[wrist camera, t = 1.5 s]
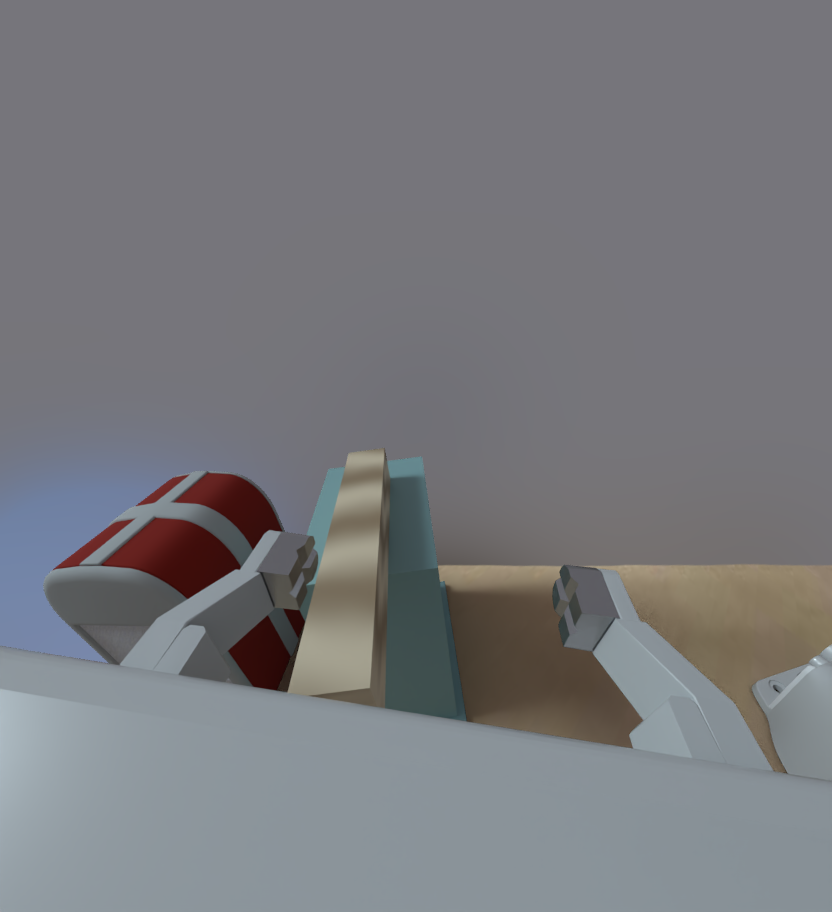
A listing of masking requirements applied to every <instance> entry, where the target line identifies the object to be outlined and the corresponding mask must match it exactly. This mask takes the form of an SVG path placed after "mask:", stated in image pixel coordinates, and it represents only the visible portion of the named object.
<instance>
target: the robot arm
mask: <svg viewBox="0 0 832 912" xmlns="http://www.w3.org/2000/svg"><path fill="white" fill-rule="evenodd" d="M314 545H315V540H314V536H309V535H302V534H295V533H288V532H280V531H273V530H269V531H267V532H266V533H265V534H264V535H263V537H262V538H261V540H260V541H259V543H258V544H257V546H256V547H255V548H254V550H253V551H252V553H251V554H250V556H249V557H248V559H247V560H246V562H245V563H244V565H243V566H242V568H241V569H240V570H234V571H232V572H231V573H229V574H228V575H226V576H224V577H223V578H221V579H219V580H218V581H216V582H215V583H213V584H211V585H210V586H208V587H207V588H205V589H203V590H202V591H200V592H199V593H197V594H195V595H194V596H192V597H191V598H189V599H187V600H186V601H184V602H182V603H181V604H179V605H178V606H176V607H174V608H173V609H171V610H170V611H168V612H166V613H165V614H163V615H162V616H160V617H158V618H157V619H156V620H155V622H154V623H153V624H152V625H151V626H150V628H149V629H148V630H147V631H146V633H145V634H144V635H143V636H142V638H141V639H140V640H139V641H138V643H137V644H136V645H135V646H134V647H133V649H132V650H131V651H130V652H129V654H128V655H127V656H126V657H125V659H124V660H123V661H122V662H121V663H120V665H115V664H109V663H103V662H97V661H90V660H84V659H78V658H72V657H65V656H59V655H52V654H46V653H41V652H34V651H28V650H22V649H17V648H11V647H5V646H0V912H832V645H830V646H829V647H827V648H826V649H825V650H823V651H822V652H821V654H820V655H821V656H820V655H818V656H816V657H814V658H812V659H811V660H810V661H809V663H808V664H805V665H803V666H800V667H797V668H794V669H791V670H788V671H785V672H782V673H779V674H776V675H773V676H771V677H768V678H765V679H762V680H759V681H757V682H756V683H755V684H754V685H753V686H752V691H753V694H754V696H755V698H756V700H757V702H758V703H759V705H760V706H761V708H762V710H763V711H764V713H765V714H766V716H767V719H768V722H769V726H770V731H771V736H772V740H773V743H774V746H775V749H776V751H777V754H778V756H779V758H780V760H781V762H782V764H783V766H784V768H785V769H786V771H787V773H788V774H787V773H781V772H775V771H773V770H772V768H771V766H770V764H769V763H768V761H767V759H766V757H765V756H764V754H763V752H762V750H761V749H760V747H759V745H758V743H757V742H756V740H755V738H754V736H753V735H752V733H751V731H750V729H749V728H748V726H747V724H746V723H745V721H744V719H743V717H742V716H741V714H740V712H739V710H738V709H737V707H736V705H735V703H734V702H732V701H731V700H730V699H729V698H728V697H727V696H726V695H725V694H724V693H723V692H722V691H720V690H719V689H718V688H717V687H716V686H715V685H714V684H713V683H712V682H711V681H709V680H708V679H707V678H706V677H705V676H704V675H703V674H702V673H701V672H700V671H699V670H697V669H696V668H695V667H694V666H693V665H692V664H691V663H690V662H689V661H688V660H687V659H685V658H684V657H683V656H682V655H681V654H680V653H679V652H678V651H677V650H676V649H675V648H673V647H672V646H671V645H670V644H669V643H668V642H667V641H666V640H665V639H664V638H662V637H661V636H660V635H659V634H658V633H657V632H656V631H655V630H654V629H653V628H652V627H650V626H649V625H648V624H647V623H646V622H641V621H640V619H639V617H638V615H637V613H636V610H635V608H634V606H633V604H632V602H631V600H630V597H629V595H628V593H627V591H626V589H625V587H624V584H623V582H622V580H621V578H620V576H619V574H618V573H617V572H616V571H614V570H605V569H597V568H590V567H581V566H570V565H564V566H562V567H561V570H560V576H561V578H560V579H558V580H556V581H555V584H554V587H553V595H552V597H553V605H554V609H555V612H556V613H557V614H558V615H559V616H560V617H561V620H560V622H559V624H558V626H559V630H560V634H561V639H562V643H563V647H568V648H574V649H580V650H586V651H592V652H593V654H594V656H595V657H596V658H597V660H598V661H599V662H600V664H601V665H602V666H603V668H604V669H605V670H606V671H607V673H608V674H609V675H610V677H611V678H612V679H613V681H614V682H615V683H616V685H617V686H618V687H619V689H620V690H621V691H622V693H623V694H624V695H625V697H626V698H627V699H628V700H629V702H630V703H631V704H632V706H633V707H634V708H635V710H636V711H637V712H638V714H639V715H640V716H641V718H642V719H643V721H642V722H641V723H640V724H639V725H638V726H637V727H636V728H634V729H633V730H632V732H631V733H630V734H629V736H630V739H631V743H632V746H633V748H627V747H621V746H615V745H609V744H602V743H596V742H590V741H584V740H578V739H572V738H565V737H559V736H553V735H547V734H541V733H535V732H528V731H522V730H516V729H510V728H504V727H498V726H492V725H485V724H479V723H473V722H467V721H461V720H455V719H448V718H442V717H436V716H430V715H424V714H418V713H411V712H405V711H399V710H393V709H387V708H381V707H375V706H368V705H362V704H356V703H350V702H344V701H338V700H331V699H325V698H319V697H313V696H307V695H300V694H294V693H288V692H282V691H276V690H270V689H263V688H257V687H251V686H245V685H239V684H233V683H226V681H227V679H228V677H229V675H230V673H231V670H230V667H229V665H228V663H227V662H226V660H225V659H224V657H223V656H222V655H223V654H225V653H226V652H227V651H228V650H229V649H230V648H231V647H232V646H233V645H235V644H236V643H237V642H238V641H239V640H240V639H241V638H242V637H244V636H245V635H246V634H247V633H248V632H249V631H250V630H251V629H252V628H254V627H255V626H256V625H257V624H258V623H259V622H260V621H261V620H263V619H264V618H265V617H266V616H267V615H268V614H269V613H270V612H271V611H273V610H274V607H275V608H284V609H293V610H300V608H301V605H302V603H303V601H304V599H305V597H306V594H307V592H308V591H307V587H306V585H307V584H308V583H309V582H311V581H312V580H313V579H314V576H315V574H316V571H317V566H318V553H317V551H316V550H315V549H314V548H313V547H314ZM774 689H776V690H778V691H779V692H780V693H778V692H777V691H775V690H774Z"/></svg>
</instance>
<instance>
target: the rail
mask: <svg viewBox="0 0 832 912" xmlns="http://www.w3.org/2000/svg"><path fill="white" fill-rule="evenodd" d="M389 515H390V474H389V469H388V463H387V459H386V453H385V448H382V449H374V450H367V451H360V452H353V453H349V454H348V458H347V462H346V466H345V470H344V474H343V478H342V481H341V485H340V489H339V493H338V497H337V501H336V505H335V509H334V513H333V517H332V520H331V524H330V528H329V532H328V536H327V540H326V544H325V548H324V552H323V556H322V560H321V563H320V567H319V571H318V575H317V579H316V583H315V587H314V591H313V595H312V599H311V603H310V606H309V610H308V614H307V618H306V622H305V626H304V630H303V634H302V638H301V642H300V645H299V649H298V653H297V657H296V661H295V665H294V669H293V673H292V677H291V681H290V685H289V688H288V693H294V694H300V695H307V696H313V697H319V698H325V699H331V700H338V701H344V702H350V703H356V704H362V705H368V706H375V707H381V708H385V684H386V641H387V599H388V557H389Z"/></svg>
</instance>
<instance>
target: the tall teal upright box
mask: <svg viewBox="0 0 832 912" xmlns="http://www.w3.org/2000/svg"><path fill="white" fill-rule="evenodd" d="M387 463H388V469H389V474H390V515H389V557H388V599H387V641H386V684H385V708H387V709H393V710H399V711H405V712H411V713H418V714H424V715H430V716H436V717H442V718H448V719H455V720H461V721H467V720H466V713H465V707H464V701H463V694H462V688H461V682H460V676H459V669H458V663H457V657H456V650H455V644H454V638H453V631H452V625H451V619H450V613H449V606H448V600H447V594H446V587H445V581H443V582H440V580H439V572H438V565H437V558H436V551H435V544H434V537H433V530H432V524H431V517H430V509H429V504H428V503H429V502H428V496H427V488H426V482H425V475H424V468H423V461H422V457H415V458H407V459H400V460H393V461H387ZM344 470H345V467H341V468H334V469H329V470H328V473H327V476H326V479H325V482H324V485H323V488H322V491H321V494H320V497H319V500H318V503H317V505H316V508H315V511H314V514H313V517H312V520H311V524H310V526H309V529H308V532H307V535H309V536H314V540H315V545H314V547H313V548H314V549H315V550H316V551H317V553H318V566H317V571H316V574H315V576H314V579H313V580H312V581H311V582H309V583H308V584H307V585H306V587H307V591H308V592H307V594H306V597H305V599H304V601H303V603H302V605H301V608H300V612H301V614H302V616H303V618H304V620H305V622H306V618H307V614H308V610H309V606H310V603H311V599H312V595H313V591H314V587H315V583H316V579H317V575H318V571H319V567H320V563H321V560H322V556H323V552H324V548H325V544H326V540H327V536H328V532H329V528H330V524H331V520H332V517H333V513H334V509H335V505H336V501H337V497H338V493H339V489H340V485H341V481H342V478H343V474H344Z"/></svg>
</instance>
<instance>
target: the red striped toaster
mask: <svg viewBox="0 0 832 912" xmlns="http://www.w3.org/2000/svg"><path fill="white" fill-rule="evenodd" d="M269 530H273V531H280V532H285V530H284V528H283V526H282V523H281V521H280V519H279V516H278V514H277V512H276V510H275V508H274V506H273V504H272V502H271V500H270V499H269V498H268V497H267V495H266V494H265V493H264V491H263V490H262V489H261V488H260V487H259V486H257V485H256V484H255V483H254V482H253V481H251V480H250V479H248V478H246V477H244V476H242V475H240V474H236V473H232V472H215V471H194V472H193V473H189V474H184V475H178V476H176V477H174V478H172V479H171V480H169V481H168V482H166V483H165V484H164V485H162V486H161V487H160V488H159V489H157V490H156V491H155V492H154V493H152V494H151V495H149V496H148V497H147V498H145V499H144V500H143V501H142V502H140V503H139V504H138V505H136V506H135V507H131V508H130V509H128V510H126V511H125V512H124V513H123V514H121V515H120V516H119V517H117V518H116V519H115V520H113V521H112V522H111V523H110V524H109V526H108V528H106V529H105V530H104V531H103V532H101V533H100V534H99V535H97V536H96V537H95V538H93V539H92V540H91V541H89V542H88V543H87V544H86V545H84V546H83V547H82V548H80V549H79V550H78V551H76V552H75V553H74V554H73V555H71V556H70V557H69V558H67V559H66V560H65V561H63V562H62V563H61V564H59V565H58V566H57V567H56V568H54V569H53V570H52V571H51V572H50V573H49V574H48V575H47V576H46V577H45V580H44V585H43V586H44V592H45V595H46V598H47V600H48V601H49V603H50V605H51V606H52V608H53V609H54V610H55V612H56V613H57V614H58V615H59V616H60V617H61V618H62V619H63V620H64V621H65V622H66V623H67V624H68V625H69V626H70V627H71V628H72V629H73V630H74V631H75V632H77V634H79V635H80V636H81V637H82V638H83V639H84V640H85V641H86V642H87V643H88V644H89V645H90V646H91V647H92V648H94V649H95V650H96V651H97V652H98V653H99V654H100V655H101V656H102V657H103V658H104V659H105V660H106V661H107V662H108V663H109V664H115V665H120V663H121V662H122V661H123V660H124V659H125V657H126V656H127V655H128V654H129V652H130V651H131V650H132V649H133V647H134V646H135V645H136V644H137V643H138V641H139V640H140V639H141V638H142V636H143V635H144V634H145V633H146V631H147V630H148V629H149V628H150V626H151V625H152V624H153V623H154V622H155V620H156V619H157V618H158V617H160V616H162V615H163V614H165V613H166V612H168V611H170V610H171V609H173V608H174V607H176V606H178V605H179V604H181V603H182V602H184V601H186V600H187V599H189V598H191V597H192V596H194V595H195V594H197V593H199V592H200V591H202V590H203V589H205V588H207V587H208V586H210V585H211V584H213V583H215V582H216V581H218V580H219V579H221V578H223V577H224V576H226V575H228V574H229V573H231V572H232V571H234V570H240V569H241V568H242V566H243V565H244V563H245V562H246V560H247V559H248V557H249V556H250V554H251V553H252V551H253V550H254V548H255V547H256V546H257V544H258V543H259V541H260V540H261V538H262V537H263V535H264V534H265V533H266V532H267V531H269ZM304 623H305V620H304V618H303V616H302V614H301V612H300V610H293V609H284V608H275V607H274V610H273V611H271V612H270V613H269V614H268V615H267V616H266V617H265V618H264V619H263V620H261V621H260V622H259V623H258V624H257V625H256V626H255V627H254V628H252V629H251V630H250V631H249V632H248V633H247V634H246V635H245V636H244V637H242V638H241V639H240V640H239V641H238V642H237V643H236V644H235V645H233V646H232V647H231V648H230V649H229V650H228V651H227V652H226V653H225V654H223V655H222V656H223V657H224V659H225V660H226V662H227V663H228V665H229V667H230V670H231V673H230V675H229V677H228V679H227V681H226V683H233V684H239V685H245V686H251V687H257V688H263V689H270V690H276V691H277V689H278V686H279V684H280V681H281V679H282V676H283V674H284V671H285V669H286V667H287V664H288V662H289V659H290V657H291V656H292V655H293V653H294V650H295V648H296V645H297V643H298V640H299V639H298V637H299V635H300V632H301V630H302V628H303V625H304Z"/></svg>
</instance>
